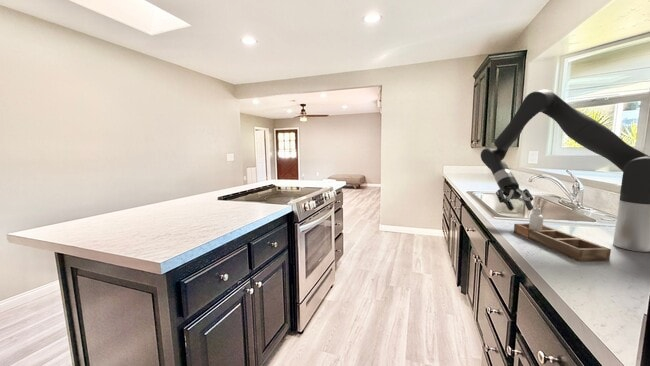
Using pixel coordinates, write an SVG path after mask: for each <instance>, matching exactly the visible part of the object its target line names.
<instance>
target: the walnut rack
mask: <svg viewBox="0 0 650 366" xmlns="http://www.w3.org/2000/svg"><path fill="white" fill-rule="evenodd" d="M513 233H514V234H517V235H519V236H521V237H522V236H523V237H522V238H525V239H526V240H529V241H532V242H534V243H536V244H538V245H540V246H542V247H545V248H547V249H549V250H551V251H553V252H556V253H558V254H561V255H562V256H565V257H567V258H569V259H571V260H573V261H577V262H610V259H611V251H612V249H611V248H608V247H605V246H604V245H600V244H597V243H595V242H592V241H589V240H587V239H583V238H581V237H577V236H575V235H572V234H569V233H566V232H563V231H561V230H558V229H555V228H553V227H549V226H547V225H544V224H543V226H542V230H532V229H529V223H528V222H527V223H513Z"/></svg>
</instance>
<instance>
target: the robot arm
mask: <svg viewBox="0 0 650 366" xmlns="http://www.w3.org/2000/svg"><path fill="white" fill-rule="evenodd" d="M539 113H542V114H544V115H545V116H547V117H549V118H551V119H552V120H553V121H555V122H556V123H557V125H558V126H559V127H560V128H561V130H562V131H563V133H564V134H565V135H566V136H568V138H570V139H571V140H573V141H574V142H575V143H577V144H578V145H580V146H581V147H584V148H585V149H587V150H589V151H591V152H593V153H595V154H597V155H599V156H601V157H603V158H605V159H607V160H608V161H609V162H611V163H612V164H613V165H614V166H616V167H617V168H618V169H619V170H620V171H622V177H621V186H620V190H619V201H618V206H617V207H618V209H617V213H616V214H617V215H616V222H615V228H614V235H613V241H612V244H613V245H614V246H615V247H617V248H620V249H624V250H629V251H634V252H639V253H650V155H648V154H646V153H644V152H643V151H641V150H638V149H636V148H634V147H632V146H631V145H629V144H628V143H627V142H626V141H624V140H623V139H622V138H621V137H620V136H618V135H617V134H616V133H615V132H613V131H612V130H611V129H610V128H609V127H606V125H604V124H602V123H600V122H598V121H597V120H596V119H594V118H592V117H590V116H589V115H587V114H585V113H584V112H582V111H580V110H578V109H576V108H575V107H573V106H571V105H570V104H569V103H567V102H566V101H565V100H563V99H562V98H561V97H560V96H558V94H556V93H555V92H554V91H552V90H550V89H538V90H535V91H532V92H530V93H528V94H527V95H526V96H525V98H524V99H523V100H522V102H521V104H520V106H519V107H518V109H517V110H516V113H515V114H514V116H513V117H512V119H511V120H510V121H509V122H508V123H507V126H505V128H504V129H503V131H502V132H501V133H500V134H499V135H498V136H497V137H496V139H495V140H494V142H493V144H494V146H495V148H489V147H487V148H484V149H483V150H481V152H480V159H481V162H483V164H484V165H485V166H486V167H487V168H488V169H489V170H490V171H491V173H492V175H493V177H494V181H495V182H496V184H497V186H498V188H499V189H498V190H496V191H495V195H496V197H497V199H498V201H499V203H500V204H502V203H504V204H505V206H506V208H507V209H508V210H509V211H513V210H514V209H515V207H514V205H513V203H512V202H511V201H512V200H518V201H519V202H522V203H523V204H524V205H525V207H526V209H527V210H528V211H532V210H534V206H533V204H532V201H534V197H533V196H532V194H531V192H530V191H529V189H527V188H524V189H521V188H520V184H519V183H518V181H517V179H516V178H515V175H514V174H513V172H512V171H511V170H510V168H509V166H508V164H507V163H506V162H504V161H503V160H504V159H505V158H506V155H507V153H508V151H509V149H510V147H511V146H512V145H513V144H514V143H515V142H516V140H518V138H519V137H520V135H521V134H522V131H523V130H524V128H525V127H526V125H527V124H528V123H529V122H530V121H531V120H532V119H533V118H534V117H535V116H536V115H538V114H539Z"/></svg>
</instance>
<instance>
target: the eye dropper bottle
mask: <svg viewBox="0 0 650 366" xmlns="http://www.w3.org/2000/svg"><path fill="white" fill-rule="evenodd" d="M543 225H544V217H543V215H542V208H540V204H537V205H536V207H533V213H531V214H530V216H529V229H532V230H542V226H543Z"/></svg>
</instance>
